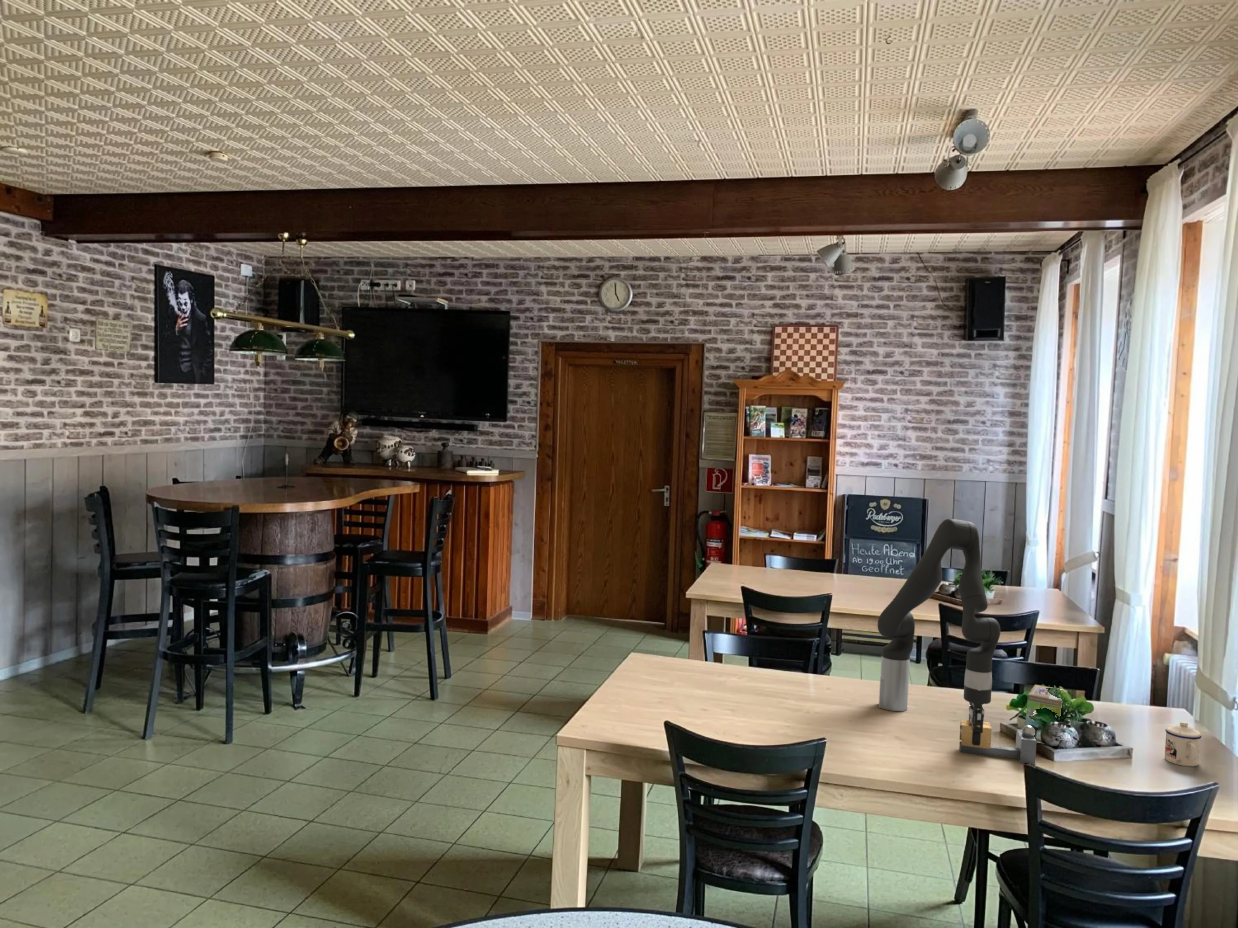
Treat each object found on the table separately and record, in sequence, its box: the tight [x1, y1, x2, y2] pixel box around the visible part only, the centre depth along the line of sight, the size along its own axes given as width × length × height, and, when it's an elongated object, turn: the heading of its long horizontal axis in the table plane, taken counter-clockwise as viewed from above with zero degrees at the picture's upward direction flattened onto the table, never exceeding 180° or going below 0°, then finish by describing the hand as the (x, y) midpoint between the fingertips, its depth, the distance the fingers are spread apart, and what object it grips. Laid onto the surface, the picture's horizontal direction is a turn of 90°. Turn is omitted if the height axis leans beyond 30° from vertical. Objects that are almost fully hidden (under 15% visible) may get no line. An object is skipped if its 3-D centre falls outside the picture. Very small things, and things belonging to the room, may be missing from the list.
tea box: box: [1024, 684, 1069, 732], centre depth 290 cm, size 15×10×15 cm
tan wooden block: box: [959, 719, 993, 749], centre depth 275 cm, size 8×6×6 cm
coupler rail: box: [958, 725, 1037, 765], centre depth 274 cm, size 20×9×10 cm, turn 75°
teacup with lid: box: [1164, 721, 1202, 767], centre depth 273 cm, size 12×9×12 cm
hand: (974, 741), depth 275 cm, fingers closed on tan wooden block, 5 cm apart
